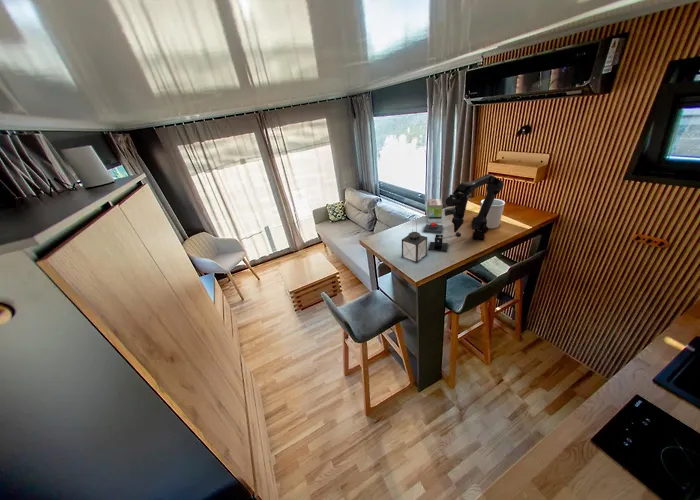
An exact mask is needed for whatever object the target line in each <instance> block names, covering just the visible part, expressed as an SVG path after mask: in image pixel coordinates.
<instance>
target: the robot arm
mask: <svg viewBox="0 0 700 500" xmlns="http://www.w3.org/2000/svg"><path fill="white" fill-rule="evenodd" d="M484 185H486V187H485V188H486V194H485V197H484V202H483V204H482V207H481V206H480V207H481V209H480V208H479V212H478V214H477V215H475V216H473V217H472V220H471V221H470V226H471V229H472V230H473V231H472V240H473V241H481V242H483V241H485V235H486V234H487V232H489V229H490V228H488V227H487V226H486V224H487V219H486V217H487V214H488V212H489V210H490V207H491V205H492V203H493V200H494V199H496V198H495V197H496V196H497V195H498V194H500V193H501V191H502V189H503V188H504V185H505V183H504V181H503V180H501V179H499V178H497V177H496V176H494V175H493V174H489V173H486V174H484V175H482V176H480V177H477V178H476V179H474V180H471V181H464V182H460V183H459V184H458V186H457V187H456V189H455V190H454V191H453V193H452V194H449V196H447V197H446V198H445V206H446V207H449V208H445V209H444V216H445V217H447V216H453V217H452V219H451V223H452V224H453V233H457V232H458V231H459V229H460V228H461V226H462V225H463V224H464V222H465V218H464V217H465V213H466V209H467V204H468V202H469V201H468V200H469V199H470V198H472V195H471V194H473V192H475V190H476V189H478V188H480V187H482V186H484Z"/></svg>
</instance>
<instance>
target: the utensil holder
mask: <svg viewBox="0 0 700 500" xmlns="http://www.w3.org/2000/svg"><path fill="white" fill-rule="evenodd" d="M484 199H485V198H484ZM484 199H482V200H481V201H480V208H479V210H480V209H481V207H482V204H483V202H484ZM505 205H506V202H505V201H504V200H503V199H500V198H494V200H493V203H492V205H491V207H490V210H489V212H488V214H487V217H486V219H487V224H486V226H487V227H488V228H489V229H497V228H499V227H500V224H501V220H502V216H503V212H504V209H505Z"/></svg>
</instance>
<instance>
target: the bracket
mask: <svg viewBox="0 0 700 500" xmlns="http://www.w3.org/2000/svg"><path fill="white" fill-rule="evenodd" d="M439 236H441V237H444V235H443V234H435V237H434V241H430V242H429V246H428V251H432V252H433V251H434V252H441V253H442V252H444V253H447V251H448V245H449V243H448V242H443V240H444V239H442V238H437V237H439Z"/></svg>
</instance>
